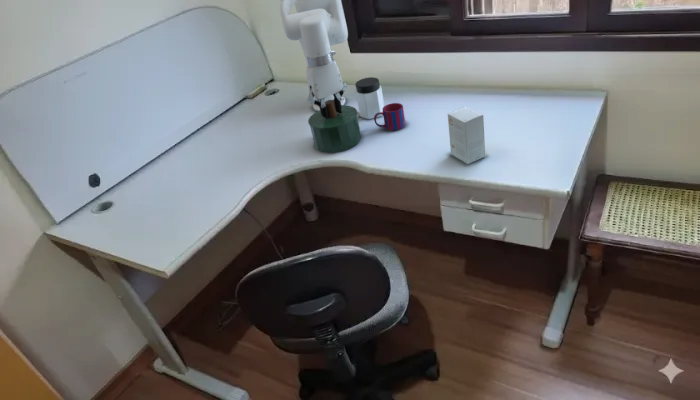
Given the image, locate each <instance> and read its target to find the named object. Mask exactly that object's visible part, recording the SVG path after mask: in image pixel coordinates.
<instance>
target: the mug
mask: <svg viewBox="0 0 700 400" xmlns="http://www.w3.org/2000/svg"><path fill="white" fill-rule="evenodd" d="M382 110H383V112H379V113H377V114H375V116H374V118H373V120H374V124H375V125H376V126H378V127H380V128H384V129H385V130H387V131H391V132H395V131H400V130H402V129H403V128H405V127H406V117H405V111H404V105H403V104H402V103H400V102H392V103H387V104H386V105H384V107H383V109H382ZM379 114H382V116H383V122H384V124H379V123H378V122H377V118H378V117H377V115H379ZM376 117H377V118H376Z"/></svg>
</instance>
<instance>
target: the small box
mask: <svg viewBox="0 0 700 400" xmlns="http://www.w3.org/2000/svg"><path fill="white" fill-rule="evenodd" d="M484 120H485V119H484V113H483V114H482V113H480V112H478V111H476V110H475V109H472V108H469V107H467V106H463V107H461V108H459V109H455V110H453V111H451V112H448V113H447V121H448V122H447V123H448V135H449V146H450V147H449V149H450V155H452V156H453V157H455V158H457V159H458V160H460V161H462V162H464V163H465V164H466V165H469V164H471V163H474V162H476V161H478V160H481V159H483V158H484V157H486V142H485V140H486V138H485V123H484Z"/></svg>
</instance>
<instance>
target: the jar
mask: <svg viewBox="0 0 700 400" xmlns="http://www.w3.org/2000/svg"><path fill="white" fill-rule="evenodd" d="M380 83H381V82H380V79H379V78H378V77H373V76H371V77H364V78H361V79H359V80H357V81H356V82H355V89H356V91H355V96H356V101H357V106H358V112H359V117H360V118H363V119H366V120H372V119H374V116H375V114H377V113H379V112H383V110H382V109H383V107H384V106H385V103H384V102H385V101H384V95H383V90H382V86H381V84H380ZM382 116H383V115H382V114H379V115H377V117H376V119H377V118H381V117H382Z"/></svg>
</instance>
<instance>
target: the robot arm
mask: <svg viewBox="0 0 700 400" xmlns="http://www.w3.org/2000/svg"><path fill="white" fill-rule="evenodd" d="M293 6H294V7H295V10H296V13H292V14H291V8H292V7H293ZM279 11H280V17H281V21H282V27H283V30H284V31H283V32H284V34H285V36H286V37H287V39H289V40H290V41H299V44H300V46H301V49H302V51H303V54H304V58H305V62H306V65H307V66H306V67H305V74H306V82H307V83H306V84H307V89H308V97H307V103H309V104H312V108H313V110H314V111H316V112H317V111H319V110H320V111H321V115H322V116H323V117H325V118H326V119H328V118H329V115H328V111H327V107H326V106H325V102H326V101H328V100H334V103H335V107H336V112H338V113H342V111H341V109H342V107H341V105H345V104H346V102H347V101H346V97H345V96H344V93H345V91H346V90H347V89H348V85H347V84H346V83H345V82H344V81H343V80H342V75H341V71H340V69H339V67H338V64H337V62H336V59H334V55H335V56H336V50H335V49H331V46H335V45H338V44H342V43H345V42H346V41H347V40H348V39H349V31H348V26H347V22H346V17H345V12H344V7H343V3H342V0H280V4H279ZM330 15H331V16H330Z"/></svg>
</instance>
